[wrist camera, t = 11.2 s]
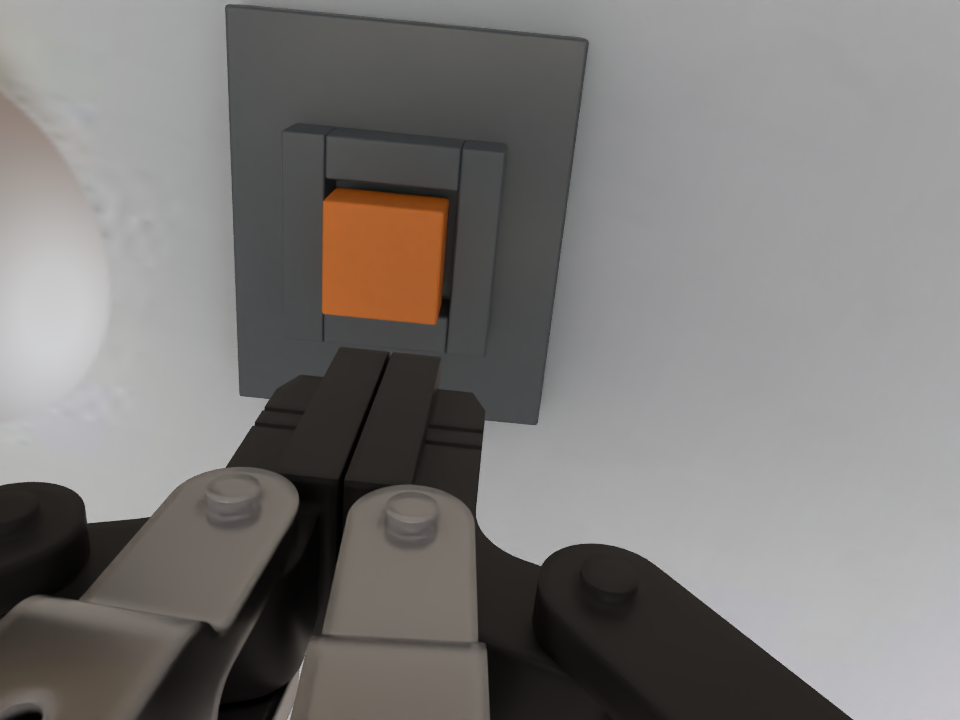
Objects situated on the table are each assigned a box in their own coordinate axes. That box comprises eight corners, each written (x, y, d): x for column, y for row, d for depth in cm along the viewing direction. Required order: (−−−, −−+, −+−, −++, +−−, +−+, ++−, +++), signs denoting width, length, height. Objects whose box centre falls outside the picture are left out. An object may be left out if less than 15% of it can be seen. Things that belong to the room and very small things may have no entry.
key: (336, 186, 22) (322, 200, 21) (449, 197, 22) (444, 212, 21) (334, 294, 24) (321, 314, 22) (441, 305, 24) (436, 326, 22)
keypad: (240, 4, 23) (202, 3, 20) (585, 37, 23) (594, 41, 20) (251, 379, 28) (222, 419, 25) (536, 407, 28) (538, 450, 25)
